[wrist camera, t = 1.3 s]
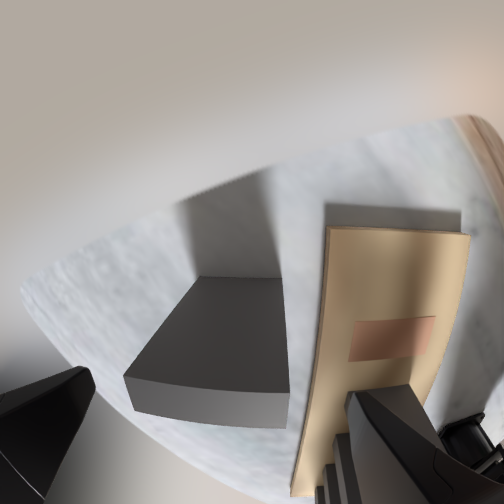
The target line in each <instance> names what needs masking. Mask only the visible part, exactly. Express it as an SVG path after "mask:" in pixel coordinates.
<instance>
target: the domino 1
mask: <svg viewBox="0 0 504 504" xmlns="http://www.w3.org/2000/svg"><path fill="white" fill-rule="evenodd" d="M123 377H124V381H125V384H126V387H127V390H128V393H129V396H130V399H131V402H132V405H133V408H134V410H135V411H138V412H142V413H146V414H151V415H156V416H161V417H166V418H171V419H177V420H183V421H190V422H197V423H204V424H213V425H222V426H234V427H248V428H280V429H286V423H287V415H288V406H289V397H290V385H289V368H288V352H287V337H286V323H285V309H284V296H283V284H282V278H235V277H202V276H200V277H199V278H198V279H197V280H196V282H195V283H194V284H193V285H192V287H191V288H190V289H189V290H188V292H187V293H186V294H185V296H184V297H183V298H182V299H181V301H180V302H179V303H178V304H177V306H176V307H175V308H174V309H173V311H172V312H171V313H170V315H169V316H168V317H167V318H166V320H165V321H164V322H163V324H162V325H161V326H160V327H159V329H158V330H157V331H156V333H155V334H154V335H153V337H152V338H151V339H150V340H149V342H148V343H147V344H146V346H145V347H144V348H143V350H142V351H141V352H140V354H139V355H138V356H137V358H136V359H135V360H134V362H133V363H132V364H131V365H130V367H129V368H128V369H127V371H126V372H125V373H124V375H123Z"/></svg>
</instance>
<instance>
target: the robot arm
mask: <svg viewBox="0 0 504 504" xmlns="http://www.w3.org/2000/svg"><path fill="white" fill-rule="evenodd" d="M95 389H96V386H95V383H94V380H93V377H92V374H91V372H90V370H89V369H88V368H87V367H83V366H77V367H74V368H72V369H69V370H66V371H64V372H61V373H59V374H56V375H53V376H51V377H48V378H45V379H42V380H40V381H37V382H34V383H31V384H29V385H26V386H23V387H20V388H18V389H15V390H11V391H9V392H6V393H3V394H0V504H44V501H45V499H46V497H47V494H48V492H49V490H50V487H51V485H52V483H53V481H54V479H55V476H56V474H57V472H58V470H59V468H60V466H61V464H62V462H63V459H64V457H65V455H66V453H67V451H68V449H69V447H70V445H71V443H72V441H73V439H74V438H75V436H76V433H77V432H78V430H79V428H80V426H81V424H82V422H83V420H84V417H85V414H86V412H87V410H88V407H89V405H90V402H91V400H92V397H93V395H94V393H95ZM484 417H485V414H484V412H483V413H480V414H478V415H475V416H473V417H470V418H467V419H465V420H462V421H459V422H456V423H453V424H450V425H447V426H446V427H445V428H444V429H443V431H442V432H441V434H440V435H439V439H440V441H441V443H442V444H443V446H444V448H445V450H446V452H447V454H446V453H445V452H444V451H442V450H441V449H440V448H438V447H437V448H436V446H435V445H434V444H433V443H432V442H430V441H429V440H428V439H426V438H425V437H424V436H422V435H421V434H420V433H419V432H417V431H416V430H415V429H413V428H412V427H411V426H410V425H408V424H407V423H406V422H405V421H403V420H402V419H401V418H399V417H398V416H397V415H396V414H394V413H393V412H392V411H391V410H389V409H388V408H387V407H386V406H385V405H383V404H382V403H381V402H380V401H378V400H377V399H376V398H375V397H373V396H372V395H371V394H370V393H369V392H367V391H356V392H354V393H353V395H352V398H351V402H350V405H349V408H348V422H349V431H350V441H351V451H352V457H353V462H354V467H355V471H356V476H357V480H358V485H359V490H360V495H361V500H362V504H504V446H503V445H502V444H501V443H499V444H498V445H497V446H496V448H495V447H494V445H493V444H492V442H491V441H490V439H489V437H488V436H487V434H486V433H485V431H484V430H483V428H482V427H481V425H480V423H481V422H482V420H483V419H484ZM501 458H503V460H502V461H501V462H498V461H499V460H500V459H501Z"/></svg>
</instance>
